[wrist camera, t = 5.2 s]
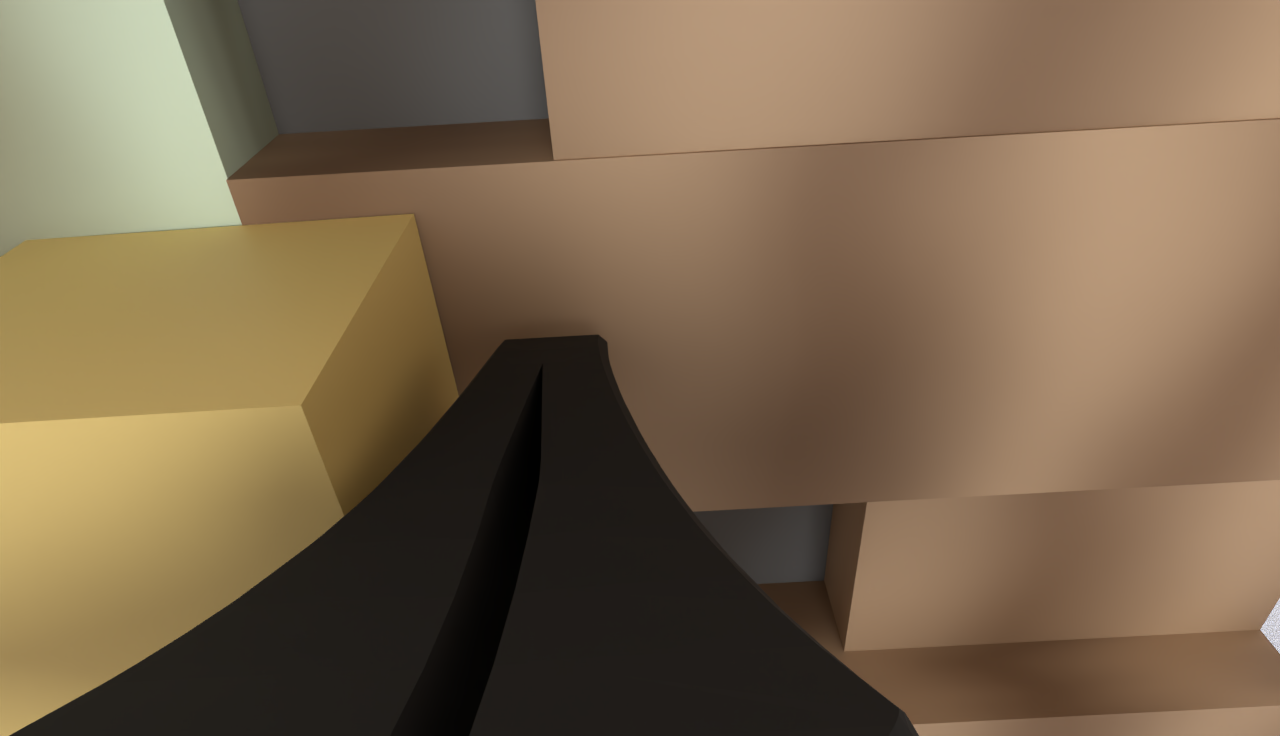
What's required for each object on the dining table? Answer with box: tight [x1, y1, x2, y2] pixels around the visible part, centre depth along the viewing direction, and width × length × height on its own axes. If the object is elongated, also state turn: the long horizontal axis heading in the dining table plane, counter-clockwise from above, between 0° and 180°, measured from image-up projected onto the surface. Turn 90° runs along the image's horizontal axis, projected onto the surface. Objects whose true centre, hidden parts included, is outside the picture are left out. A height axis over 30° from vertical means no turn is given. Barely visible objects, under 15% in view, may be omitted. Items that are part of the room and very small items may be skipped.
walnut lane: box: [0, 0, 1280, 736], centre depth 11 cm, size 23×16×4 cm
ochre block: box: [0, 214, 459, 736], centre depth 10 cm, size 5×5×4 cm
